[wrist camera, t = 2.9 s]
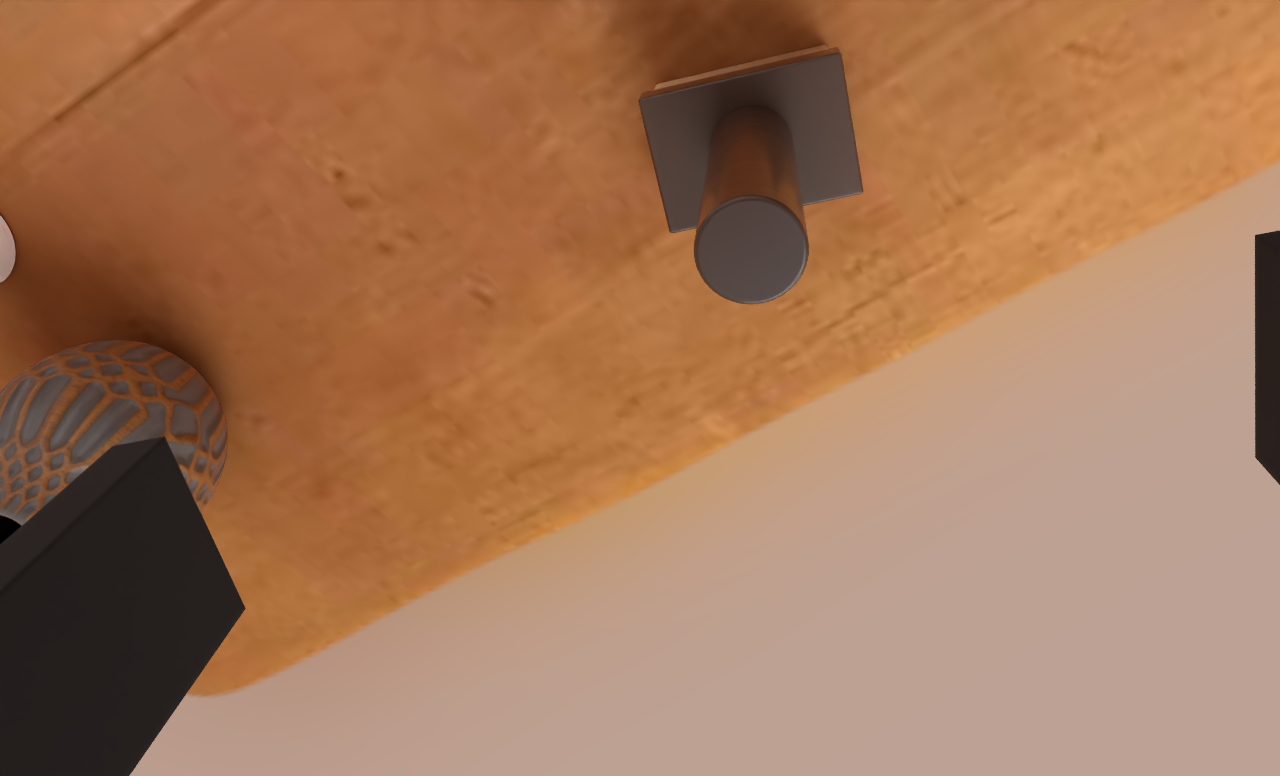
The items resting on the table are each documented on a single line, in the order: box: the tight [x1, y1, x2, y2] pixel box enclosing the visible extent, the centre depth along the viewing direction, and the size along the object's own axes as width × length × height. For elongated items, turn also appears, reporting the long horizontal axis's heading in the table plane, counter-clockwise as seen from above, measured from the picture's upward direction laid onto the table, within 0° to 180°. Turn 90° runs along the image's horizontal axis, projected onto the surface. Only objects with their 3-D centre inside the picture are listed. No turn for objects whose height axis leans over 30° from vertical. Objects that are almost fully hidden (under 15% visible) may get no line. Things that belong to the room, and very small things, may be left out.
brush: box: [638, 44, 863, 304], centre depth 26 cm, size 5×4×12 cm
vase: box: [0, 340, 228, 545], centre depth 33 cm, size 7×7×9 cm
